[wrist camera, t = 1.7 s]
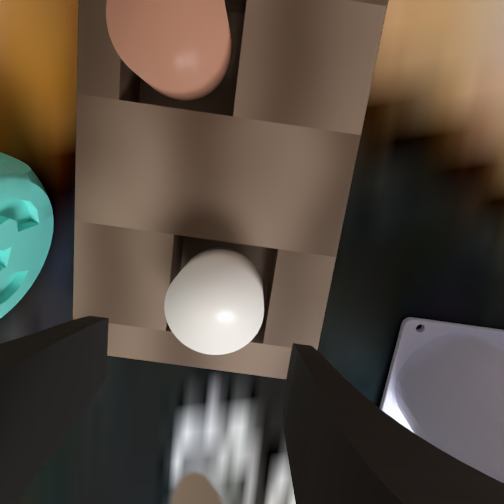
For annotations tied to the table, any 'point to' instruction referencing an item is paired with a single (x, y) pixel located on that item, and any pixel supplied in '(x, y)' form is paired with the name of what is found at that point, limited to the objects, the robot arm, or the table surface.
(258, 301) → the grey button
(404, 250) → the table surface
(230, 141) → the button panel
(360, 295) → the table surface
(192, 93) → the terracotta button
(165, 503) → the table surface
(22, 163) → the decorative dice
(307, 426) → the robot arm
